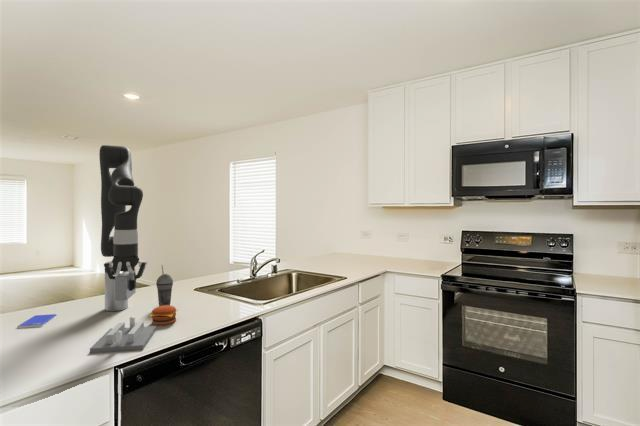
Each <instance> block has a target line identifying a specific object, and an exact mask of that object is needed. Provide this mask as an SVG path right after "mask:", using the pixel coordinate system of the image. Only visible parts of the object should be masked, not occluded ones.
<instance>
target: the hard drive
mask: <svg viewBox="0 0 640 426" xmlns="http://www.w3.org/2000/svg"><path fill="white" fill-rule="evenodd" d="M57 317H58V314H56V313H53V314H52V313H51V314H40V315H39V314H38V315H34V316H32V317H30V318H29V319H27V320H25V321H24V322H21V323H20V324H19V325H17V327H16V329H28V328H42V327H44V326H46V325H47V324H49V323H50V322H51V321H53V320H54V319H55V318H57Z"/></svg>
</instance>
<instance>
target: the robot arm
mask: <svg viewBox="0 0 640 426" xmlns="http://www.w3.org/2000/svg"><path fill="white" fill-rule="evenodd" d="M132 165H133V164H132V153H131V150H130V149H129V148H128V147H127V146H123V145H107V144H106V145H105V144H102V145H101V146H100V147H99V169H100V180H101V181H100V182H101V183H100V185H101V186H100V188H101V191H100V212H101V213H100V214H101V236H100V238H101V239H100V252H101V256H102V257H105V258H108V257H109V258H111V257H113V258H112V260H111V261H107V262H105V263H103V266H104V311H105V312H106V311H107V312H116V311H117V312H119V311H122V310H125V309H127V308H128V307H129V299H127V300H121V301H115V277H117V276H118V275H120V274H122V273H123V272H125V271H128V272H129V274H130V278H131V281H130V291H133V290H134V289H135V288H137V279H140V278H141V277H142V276H143V274H144V271H145V269H146V266H147V265H148V262H147V260H146V261H145V260H144V261H143V260H140V258H139V234H138V214H139V211H140V207H141V204H142V202H143V197H144V193H143V190H142V189H141V187H140V186H137V185H135V182H134V179H133V174H132V173H133V166H132ZM110 169H113V170H112V172H111V171H110ZM126 206H127V207H128V206H130V208H129V210H126V209H127V207H126ZM113 229H114V231H113ZM112 231H113V235H112V236H111V233H112ZM137 265H138V267H139V268H138V272H137V274H136V273H135V272H136V267H137Z"/></svg>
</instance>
